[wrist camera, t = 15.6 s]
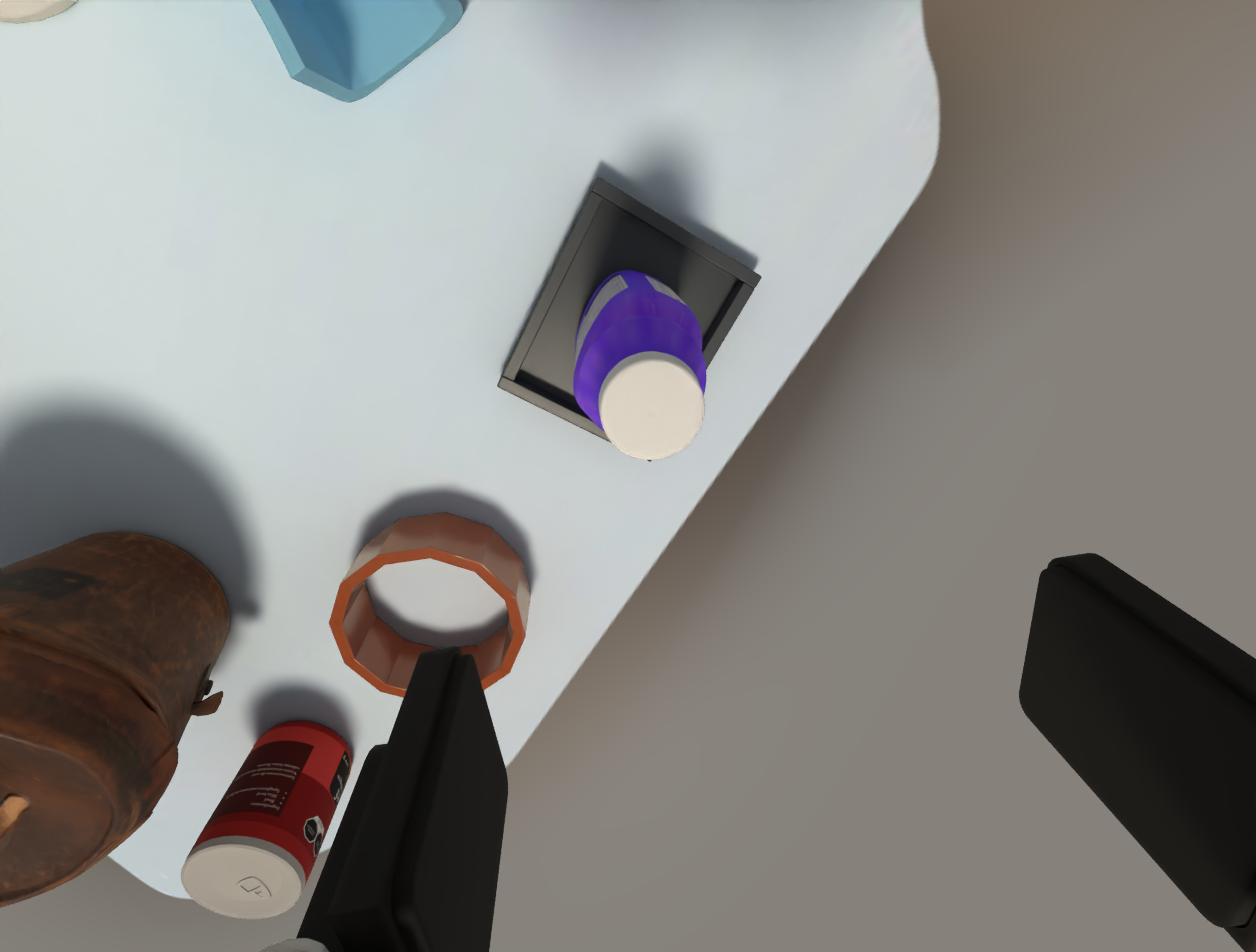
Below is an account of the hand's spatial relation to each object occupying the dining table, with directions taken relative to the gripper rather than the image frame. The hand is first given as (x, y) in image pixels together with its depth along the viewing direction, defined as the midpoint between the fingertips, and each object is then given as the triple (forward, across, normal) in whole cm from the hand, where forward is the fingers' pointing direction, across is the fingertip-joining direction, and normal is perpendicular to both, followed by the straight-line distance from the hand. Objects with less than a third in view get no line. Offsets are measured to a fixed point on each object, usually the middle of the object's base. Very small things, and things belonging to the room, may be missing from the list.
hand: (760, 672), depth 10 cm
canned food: (+32, +31, +32) cm, 55 cm away
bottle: (+32, 0, 0) cm, 32 cm away
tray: (+32, 0, 0) cm, 32 cm away
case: (+32, +38, +16) cm, 52 cm away
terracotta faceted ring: (+32, +16, +18) cm, 40 cm away
